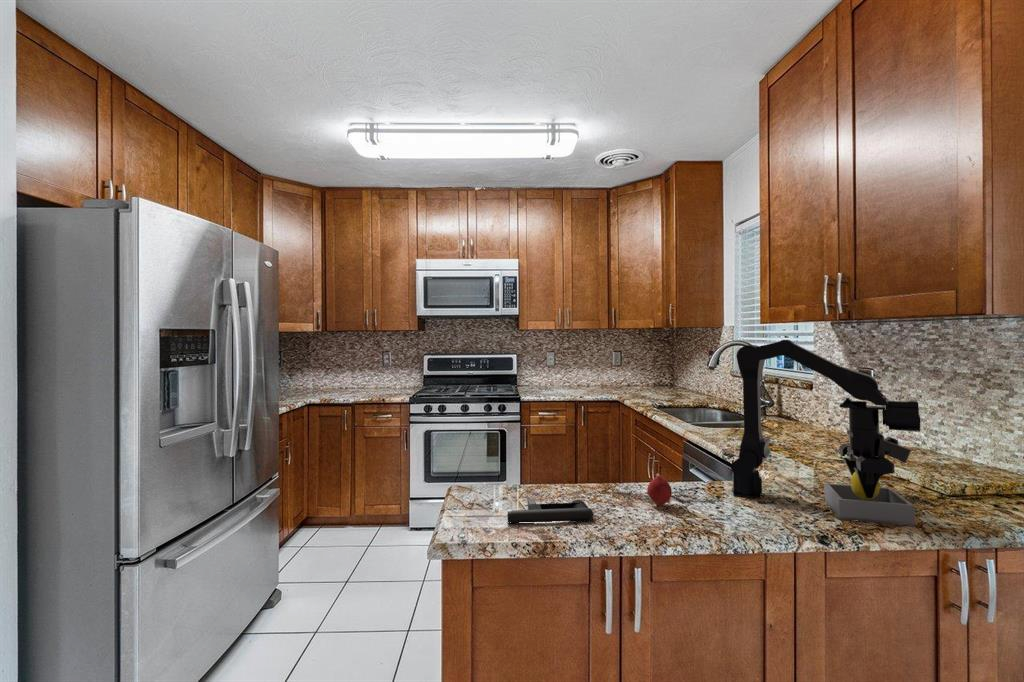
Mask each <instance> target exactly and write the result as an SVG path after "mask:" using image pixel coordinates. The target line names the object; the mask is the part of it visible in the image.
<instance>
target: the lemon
mask: <svg viewBox="0 0 1024 682" xmlns="http://www.w3.org/2000/svg"><path fill="white" fill-rule="evenodd" d="M879 480H880V479H879ZM879 480H878V483H877V486H876V488H875V491H874V494H873V497H872V498H867V497H866V495H865V493H864V491H863V488H862V486H861V483H860V481H859V478H858V476H857V474H856V471H855V472H854V473H853V475H851V478H850V485H851V488H852V490H853V492H854V494H855V495H856V496H858V497H859V498H861V499H862V500H863V501H869V500H870V499H874V498H875V497H876V496H877V495H878V494H879V491H880V487H881V485H880V481H879Z"/></svg>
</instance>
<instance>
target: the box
mask: <svg viewBox="0 0 1024 682" xmlns="http://www.w3.org/2000/svg"><path fill="white" fill-rule="evenodd" d="M823 484H824V485H823V487H824V488H823V489H824V495H823V496H824V502H825V504H828V505H829V506H828V505H827V506H828V507H829V508H830V509H832V510H833V511H832V510H831V511H832V512H833V514H834V515H835V514H836V515H837V516H836V515H835V516H836V517H837V518H838V519H845V520H844V521H850V520H858V521H857V522H861V521H867V522H866V523H871V522H876V523H875V524H882V523H885V524H884V525H893V524H895V525H896V526H904V525H909V526H908V527H916V515H915V513H916V512H915V510H916V509H915V508H916V507H915V505H914V504H913V503H911V501H909V500H908V499H906V498H905V497H904V496H902V495H901V494H900V493H898V492H897V491H896V490H895V489H894V488H892V487H883V486H880V491H879V494H878V495H877V496H876V497H875V498H874V499H870V500H869V501H863V500H862V499H861V498H859V497H858V496H856V495H855V494H854V492H853V490H852V488H851V484H844V483H843V484H841V483H829V482H828V483H826V482H824V483H823Z"/></svg>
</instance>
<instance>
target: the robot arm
mask: <svg viewBox="0 0 1024 682" xmlns="http://www.w3.org/2000/svg"><path fill="white" fill-rule="evenodd" d="M782 356H784V357H787V358H789V359H791V360H792V361H794V362H796V363H798V364H801V365H802V366H804V367H806V368H808V369H810V370H812V371H813V372H816V373H818V374H820V375H822V376H823V377H825V378H827V379H829V380H831V382H833V383H835V384H836V385H837V386H839V387H840V388H841V389H842V390H843V391H844V392H846V393H848V394H849V395H850V396H852V397H853V398H855V399H857V400H852V399H850V397H848V396H847V397H846V398H845V399H844V401H843V402H841V403H840V404H839V408H842V409H848V422H849V423H848V427H849V428H848V429H846V434H847V436H849V443H842V444H840V446H839V447H838V448H839V449H838V451H839V453H838V454H839V455H840V456H841V457H843V458H842V460H843V461H844V463H845V465H846V467H847V469H848V472H849V473H850V475H851V476H852V475H853V473H854V472H855V471H856V474H857V476H858V478H859V481H860V483H861V486H862V488H863V491H864V493H865V495H866V497H867V498H872V497H873V494H874V491H875V488H876V486H877V483H878V480H880V478H881V477H883V476H885V475H888V474H891V475H893V474H895V464H894V463H893V462H891V460H889V459H888V458H886V456H887V457H890V458H893V459H897V460H898V461H899V462H901V463H904V464H906V463H907V462H908V461H907V460H908V459H909V457H910V455H911V452H912V449H910V448H907V447H906V446H903V445H900V444H899V440H898V439H896V438H893V437H891V436H887V437H886V438H885V437H884V435H883V434H882V433H880V413H879V412H880V411H882V412H881V413H882V414H881V415H882V426H885V427H888V430H889V431H903V432H904V431H905V432H918V433H920V432H921V416H920V411H919V410H920V409H919V402H918V401H917V400H907V401H906V400H905V401H904V400H889V399H888V398H887V396H886V395H884V394H883V393H882V391H880V389H879V383H878V381H877V379H876V378H875V377H874V376H872V375H870V374H867V373H864V372H861V371H857V370H855V369H851V368H847V367H844V366H842V365H839V364H837V363H835V362H833V361H830V360H829V359H826V358H824V357H823V356H820V355H818V354H816V353H815V352H813V351H811V350H808V349H807V348H804V347H803V346H800V345H798V344H797V343H795V342H794V341H793V340H791V339H782V340H779V341H776V342H772V343H768V344H764V345H763V344H762V345H756V344H747V345H743V346H741V347H740V348H739V349H738V350H737V352H736V361H737V367H738V370H739V372H740V375H741V378H742V390H743V391H742V393H743V394H742V399H743V434H742V438H741V442H740V447H739V452H738V458H736V459H735V460H734V461H733V462H732V463H730V464H729V467H730V469H731V472H732V488H731V489H732V495H733V496H735V497H745V498H746V497H747V498H757V499H760V498H761V497H762V494H763V481H762V480H763V479H762V476H761V475H760V472H759V468H760V467H761V466H762V464H763V463H764V462H766V460H767V459H768V456H769V455H770V454H771V451H770V448H769V447H770V438H764V435H763V431H762V403H761V402H762V400H761V396H762V395H761V378H762V374H763V370H764V365H765V361H766V360H769V359H773V358H778V357H782ZM859 400H861V401H859ZM867 401H868V402H870V403H872V404H874V405H868V404H867Z"/></svg>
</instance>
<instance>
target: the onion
mask: <svg viewBox="0 0 1024 682" xmlns="http://www.w3.org/2000/svg"><path fill="white" fill-rule="evenodd" d="M655 476H656V477H655V478H653V479H651V480H650V482H649V483H648V485H647V490H646V493H647V496H648V497H649V499H650V500H651V501H652V502H653V503H654V504H655V505H656V506H657V505H658V506H657V507H662V506H663V505H665V504H667V502H669V501H670V500H671V498H672V493H673V491H672V490H673V489H672V487H671V485H670V483H669V482H668V480H666V479H665V478H663V477H662V475H661V474H659V473H656V475H655Z"/></svg>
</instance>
